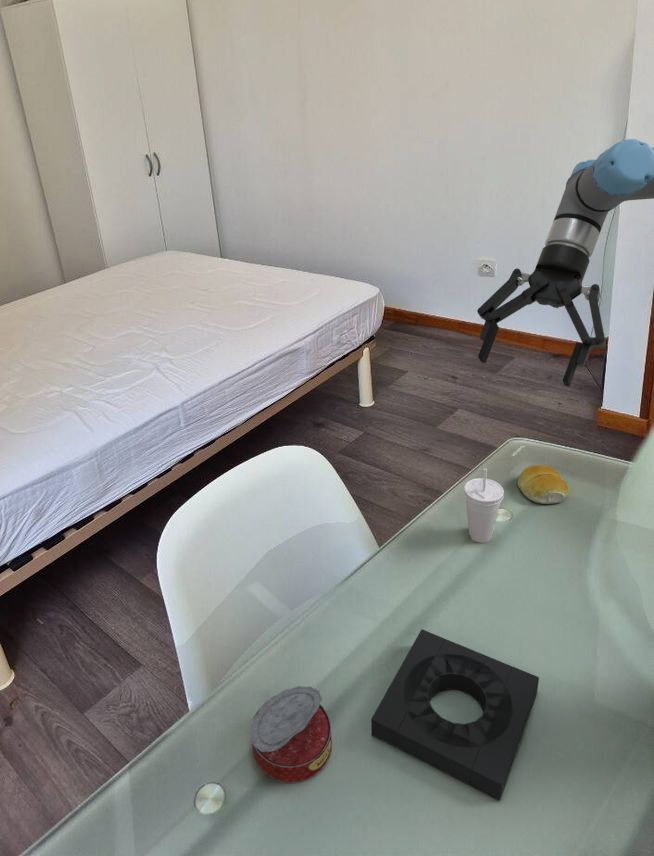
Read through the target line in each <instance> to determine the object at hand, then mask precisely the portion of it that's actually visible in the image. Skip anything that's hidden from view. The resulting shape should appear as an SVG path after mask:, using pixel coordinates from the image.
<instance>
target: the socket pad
mask: <svg viewBox="0 0 654 856" xmlns="http://www.w3.org/2000/svg"><path fill="white" fill-rule="evenodd" d="M539 681H540V677H539V676H538V675H535V674H532V673H531V672H528V671H525V670H523V669H520V668H517V667H515V666H512V665H511V664H507V663H505V662H503V661H501V660H499V659H496V658H493V657H491V656H488V655H487V654H483V653H481V652H478V651H476V650H474V649H471V648H468V647H466V646H464V645H461V644H459V643H457V642H454V641H451V640H449V639H447V638H445V637H442V636H440V635H437V634H435V633H432V632H430V631H428V630H425V629H423V628H421V629H420V631H419V633H418V635H417V636H416V638H415V640H414V642H413V643H412V645H411V647H410V649H409V650H408V653H407V655H406V656H405V658H404V659H403V662H402V663H401V665H400V667H399V669H398V671H397V672H396V674H395V676H394V678H393V679H392V681H391V682H390V684H389V686H388V688H387V690H386V692H385V694H384V696H383V697H382V699H381V701H380V703H379V704H378V706H377V708H376V709H375V712H374V713H373V715H372V717H371V718H370V719H371V720H370V721H371V723H370V725H371V736H373V737H374V738H376V739H379V740H380V741H383V742H384V743H386V744H388V745H390V746H392V747H394V748H397V749H398V750H400V751H402V752H404V753H406V754H408V755H410V756H412V757H414V758H416V759H418V760H420V761H422V762H423V763H426V764H427V765H429V766H431V767H433V768H435V769H437V770H439V771H441V772H442V773H445V774H446V775H449V776H451V777H452V778H455V779H456V780H458V781H460V782H462V783H464V784H466V785H468V786H470V787H472V788H473V789H476V790H477V791H480V792H481V793H483V794H485V795H488V796H489V797H491V798H493V799H495V800H497V801H499V802H500V801H501V799H502V796H503V793H504V790H505V787H506V784H507V781H508V778H509V776H510V773H511V770H512V767H513V764H514V761H515V759H516V755H517V752H518V750H519V747H520V744H521V741H522V738H523V735H524V732H525V729H526V727H527V724H528V721H529V718H530V715H531V712H532V709H533V706H534V703H535V701H536V697H537V694H538V690H539ZM447 690H454V691H461V692H464V693H466V694H467V695H470V696H471V697H472V698H474V699H475V700H476V701H477V702H478V704H479V705H480V707H481V709H482V711H483V713H482V715H480V716H479V717H478V718H477V719H476V720H474V721H470V722H466V723H459V722H453V721H450V720H448V719H445V718H443V717H441V715H439V714H438V712H437V711H435V710H434V708H433V706H432V703H431V700H432V698H433V697H434V696H436V695H437V694H439V692H444V691H447Z"/></svg>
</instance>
